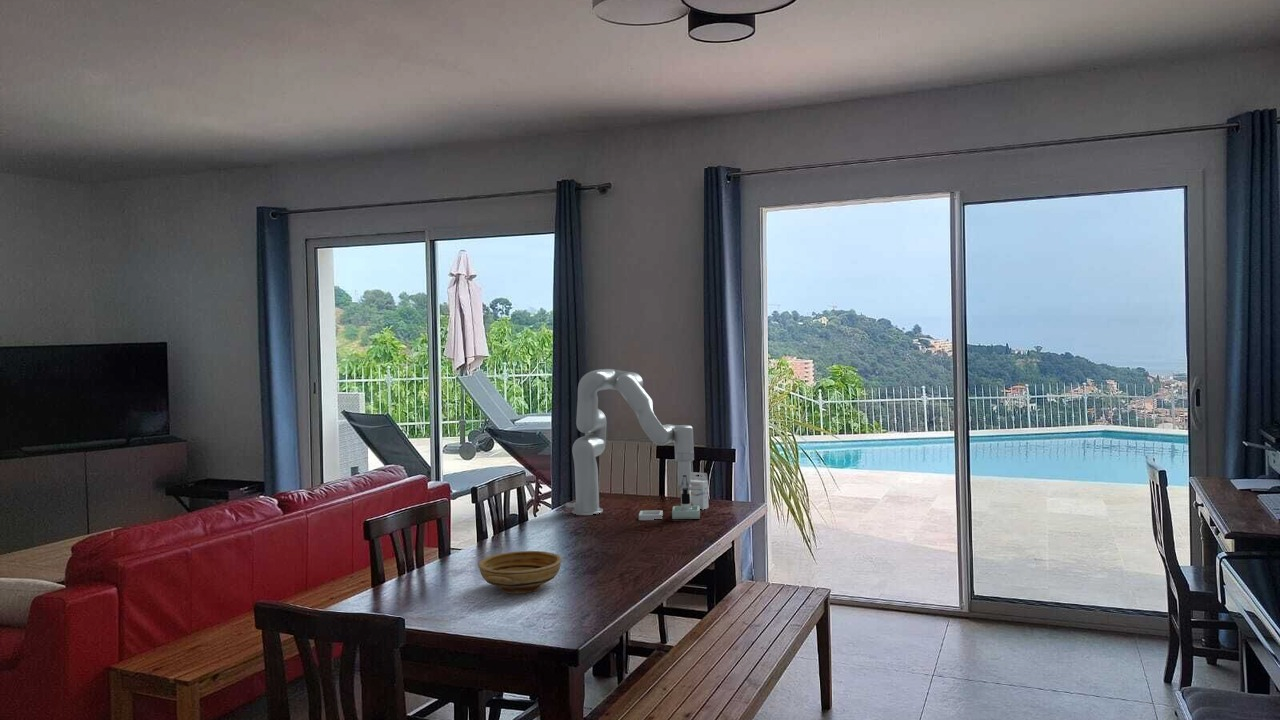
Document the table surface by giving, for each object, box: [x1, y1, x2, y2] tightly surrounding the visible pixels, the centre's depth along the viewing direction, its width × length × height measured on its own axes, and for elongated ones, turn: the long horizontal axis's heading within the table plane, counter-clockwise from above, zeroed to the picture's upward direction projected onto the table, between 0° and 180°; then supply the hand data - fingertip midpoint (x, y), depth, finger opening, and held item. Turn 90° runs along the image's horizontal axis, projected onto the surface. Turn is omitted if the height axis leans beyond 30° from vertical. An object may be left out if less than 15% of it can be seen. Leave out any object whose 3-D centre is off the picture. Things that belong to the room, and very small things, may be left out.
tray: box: [671, 505, 701, 519], centre depth 349 cm, size 11×11×4 cm
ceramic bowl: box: [477, 550, 563, 594], centre depth 256 cm, size 30×24×8 cm
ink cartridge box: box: [690, 471, 709, 511], centre depth 366 cm, size 9×5×15 cm, turn 58°
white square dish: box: [638, 509, 664, 521], centre depth 350 cm, size 9×9×2 cm
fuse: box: [679, 484, 692, 511], centre depth 349 cm, size 4×4×10 cm
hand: (686, 502), depth 349 cm, fingers closed on fuse, 4 cm apart
